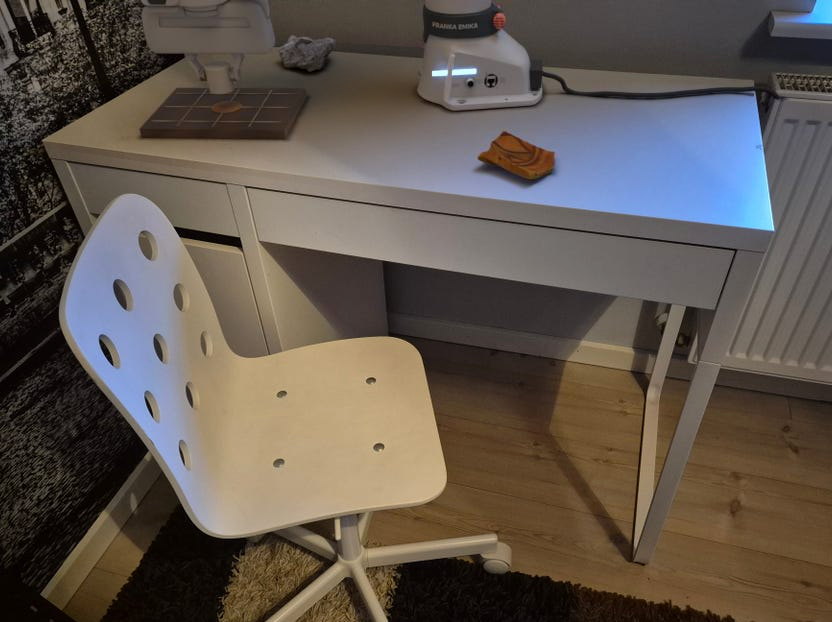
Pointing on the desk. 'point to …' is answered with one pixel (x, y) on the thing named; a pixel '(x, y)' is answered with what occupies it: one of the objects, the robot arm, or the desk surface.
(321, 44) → the mineral specimen
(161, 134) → the board
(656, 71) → the desk surface
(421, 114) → the desk surface
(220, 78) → the white plastic cylinder
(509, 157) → the pottery fragment
